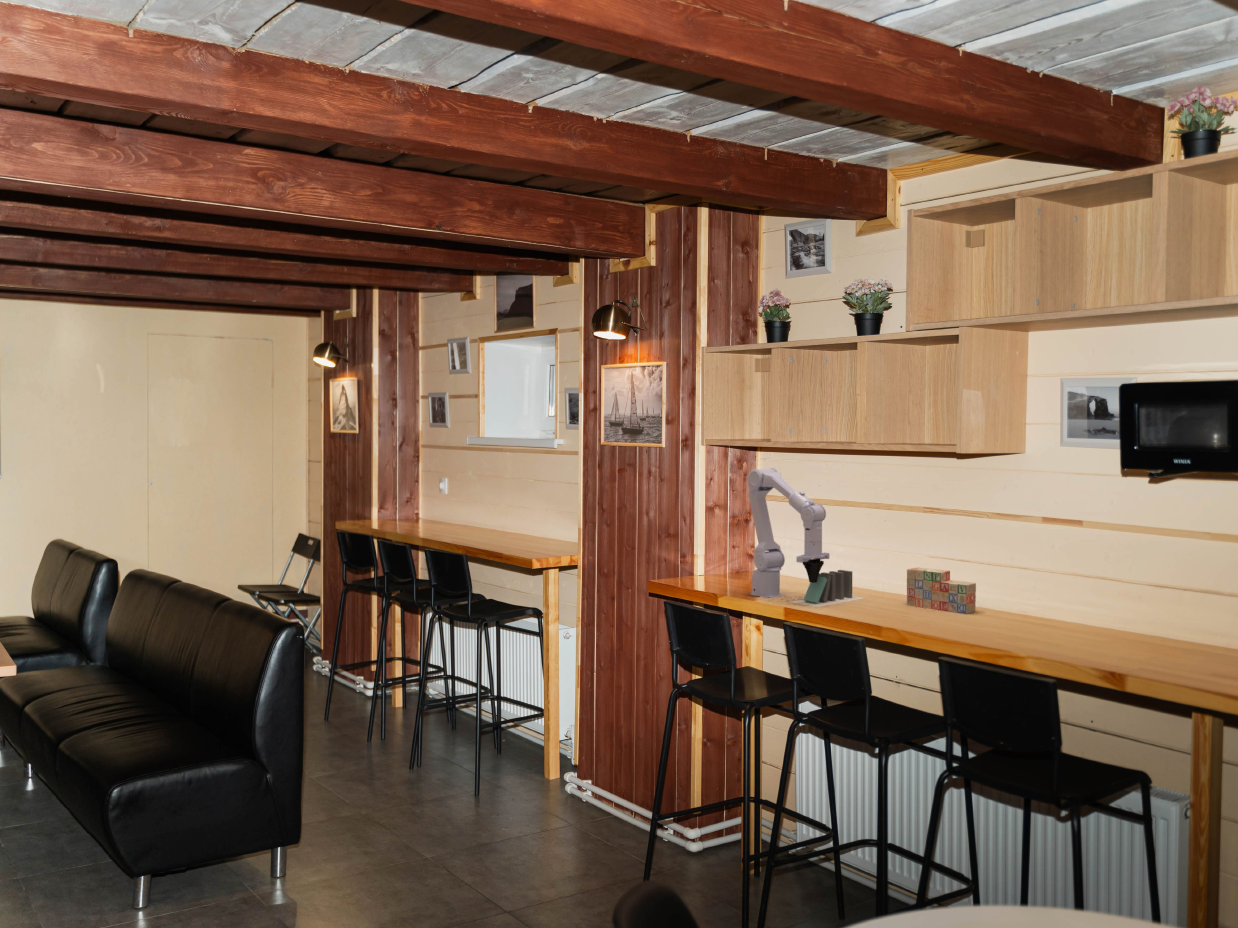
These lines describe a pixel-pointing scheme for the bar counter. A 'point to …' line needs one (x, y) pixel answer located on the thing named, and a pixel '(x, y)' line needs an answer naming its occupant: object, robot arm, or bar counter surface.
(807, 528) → the robot arm
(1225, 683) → the bar counter surface
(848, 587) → the domino
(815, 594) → the domino
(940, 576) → the stack of blocks
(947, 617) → the bar counter surface
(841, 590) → the domino
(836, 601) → the mat
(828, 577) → the domino
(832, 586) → the domino
